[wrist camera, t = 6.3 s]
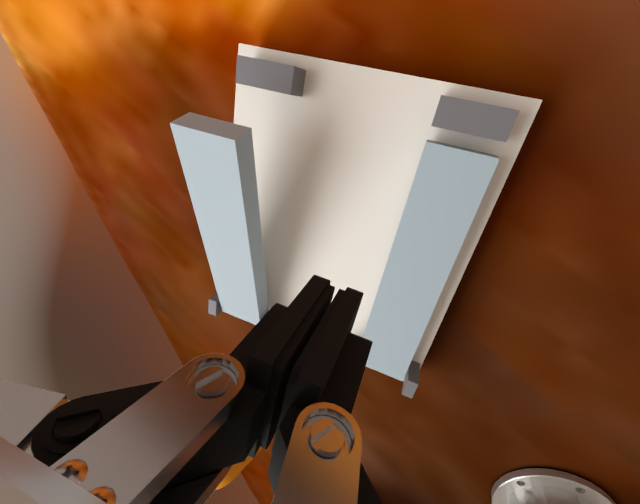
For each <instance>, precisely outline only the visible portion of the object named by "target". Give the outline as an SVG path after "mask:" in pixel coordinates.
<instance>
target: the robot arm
mask: <svg viewBox="0 0 640 504" xmlns="http://www.w3.org/2000/svg"><path fill="white" fill-rule="evenodd" d="M334 290H335V287H334V286H331V285H330V280H328V279H325V278H323V277H320V276H317V275H313V276H312V278H311V279H310V280H309V281H308V283H307V284H306V285H305V286H304V288H303V289H302V290H301V291H300V293H299V294H298V295H297V296H296V298H295V299H294V300H293V301H292V303H291V304H290V305H289V306H288V307H286V306H284V305H281V304H279V303H276V304H275V305H273V306H272V308H271V309H270V310H269V311H268V312H267V313H266V314H265V315H264V317H263V318H262V319H261V320H260V321H259V322H258V323H257V324H256V326H255V327H254V328H253V329H252V330H251V331H250V332H249V334H248V335H247V336H246V337H245V338H244V339H243V340H242V341H241V343H240V344H239V345H238V346H237V347H236V348H235V349H234V350H233V352H232V353H231V354H230V355H227V354H221V353H208V354H205V355H201V356H198V357H196V358H195V359H193V360H191V361H190V362H188V363H187V364H186V365H184V366H183V367H182V368H180V369H179V370H178V371H176V372H175V373H174V374H172V375H171V376H170V377H168V378H167V379H166V380H164V381H160V382H155V383H150V384H145V385H140V386H135V387H129V388H124V389H119V390H114V391H110V392H105V393H100V394H94V395H89V396H84V397H81V398H77V399H74V400H67V397H66V395H65V394H61V393H57V392H52V391H48V390H43V389H39V388H35V387H31V386H27V385H22V384H18V383H14V382H9V381H5V380H1V379H0V504H204V503H205V502H206V500H207V499H208V498H209V497H210V495H211V494H212V493H213V492H214V490H215V489H216V488H217V487H218V485H219V484H220V483H221V481H222V480H223V479H224V478H225V476H226V475H227V474H228V472H229V470H230V468H231V467H232V465H234V464H237V463H240V462H243V461H245V460H246V458H247V456H250V457H252V458H254V457H255V455H256V453H257V452H258V450H259V448H260V447H262V448H264V449H267V448H268V446H269V444H270V442H271V440H272V439H273V437H274V435H275V433H276V435H275V439H274V443H273V447H272V453H273V454H272V458H271V462H270V467H269V471H268V476H269V479H270V483H271V486H272V490H273V493H274V497H273V501H272V504H382V503H381V501H380V499H379V497H378V495H377V493H376V491H375V489H374V488H373V486H372V484H371V482H370V480H369V478H368V476H367V474H366V472H365V470H364V468H363V466H362V464H361V449H362V439H361V432H360V429H359V427H358V424H357V422H356V421H355V420H354V418H353V417H352V415H351V412H352V409H353V406H354V402H355V399H356V396H357V392H358V389H359V386H360V383H361V379H362V376H363V373H364V369H365V366H366V363H367V360H368V356H369V353H370V350H371V347H372V343H373V341H370V340H368V339H365V338H363V337H360V336H358V335H355V334H353V333H351V331H352V328H353V325H354V322H355V319H356V316H357V313H358V310H359V306H360V303H361V300H362V297H363V294H364V293H363V292H360V291H357V290H355V289H352V288H349V287H347V288H346V290H342V289H339V290H338V292H337V294H336V295H335V297H334V299H333V301H332V298H333V294H334ZM331 301H332V302H331ZM491 500H492V504H616V503H615V502H614V501H613V500H612V498H611V497H610V496H609V495H608V494H607V493H605V492H604V491H603V490H602V489H601V488H599V487H597V486H596V485H594V484H593V483H591V482H589V481H587V480H585V479H583V478H580V477H578V476H576V475H573V474H570V473H567V472H563V471H558V470H553V469H544V468H526V469H520V470H516V471H513V472H510V473H507V474H505V475H504V476H502V477H500V478H499V479H498V480H497V481H496V482H495V484H494V486H493V487H492V491H491Z"/></svg>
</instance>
